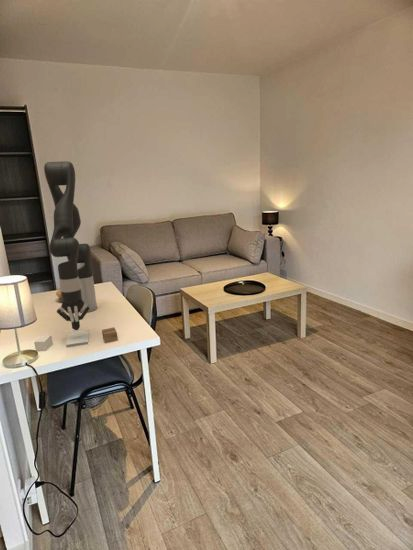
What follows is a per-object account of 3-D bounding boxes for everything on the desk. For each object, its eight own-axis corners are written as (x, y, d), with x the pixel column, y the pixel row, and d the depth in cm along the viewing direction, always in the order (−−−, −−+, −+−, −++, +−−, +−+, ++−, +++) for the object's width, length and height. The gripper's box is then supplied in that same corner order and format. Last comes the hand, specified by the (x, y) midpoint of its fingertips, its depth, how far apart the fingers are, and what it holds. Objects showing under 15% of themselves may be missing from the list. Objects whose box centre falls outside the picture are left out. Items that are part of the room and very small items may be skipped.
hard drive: (87, 341, 143) (88, 329, 155) (65, 345, 141) (68, 332, 152) (88, 345, 143) (89, 333, 155) (66, 348, 141) (68, 336, 153)
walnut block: (102, 338, 148) (101, 329, 147) (115, 336, 150) (114, 327, 149) (105, 343, 144) (103, 334, 142) (117, 340, 146) (116, 331, 144)
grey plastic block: (43, 344, 145) (41, 335, 144) (53, 344, 145) (51, 334, 144) (35, 351, 139) (34, 341, 138) (46, 351, 139) (44, 341, 138)
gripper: (89, 284, 147) (94, 324, 152) (54, 287, 145) (60, 328, 149) (87, 289, 140) (92, 331, 144) (50, 293, 138) (57, 335, 142)
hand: (76, 329), depth 147 cm, fingers closed
